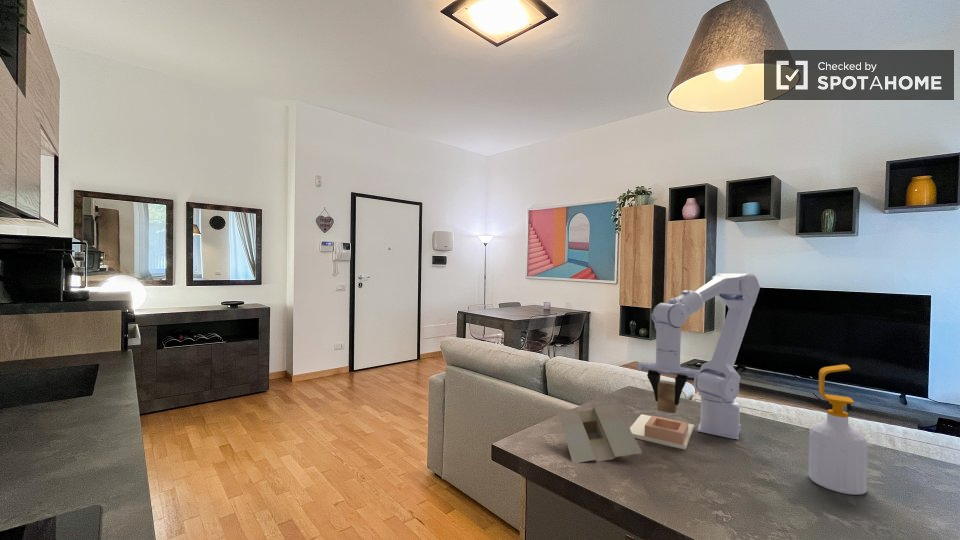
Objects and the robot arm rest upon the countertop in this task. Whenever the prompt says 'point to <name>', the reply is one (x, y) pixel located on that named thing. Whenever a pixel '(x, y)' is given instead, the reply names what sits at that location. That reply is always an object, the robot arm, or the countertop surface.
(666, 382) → the walnut block
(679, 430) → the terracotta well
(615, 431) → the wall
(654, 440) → the cream board
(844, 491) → the soap bottle
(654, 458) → the countertop surface
